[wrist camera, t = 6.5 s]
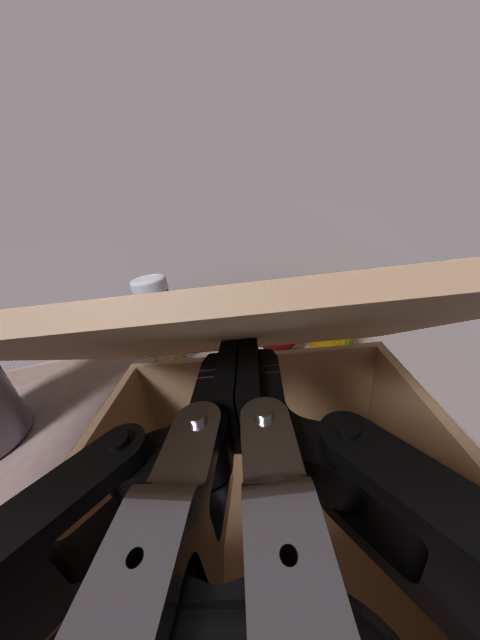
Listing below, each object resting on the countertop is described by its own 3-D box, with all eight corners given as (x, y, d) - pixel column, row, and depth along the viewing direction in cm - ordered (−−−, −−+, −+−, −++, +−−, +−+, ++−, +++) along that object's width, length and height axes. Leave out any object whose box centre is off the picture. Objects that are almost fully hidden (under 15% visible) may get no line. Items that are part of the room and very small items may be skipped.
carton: (549, 787, 10) (734, 729, 5) (52, 766, 11) (-108, 709, 7) (369, 433, 24) (381, 341, 20) (162, 446, 26) (131, 363, 21)
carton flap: (838, 255, 4) (823, 218, 4) (-248, 364, 5) (-243, 336, 6) (379, 336, 19) (377, 328, 20) (132, 358, 21) (131, 351, 21)
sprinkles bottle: (165, 355, 42) (141, 273, 36) (191, 355, 40) (170, 271, 35) (150, 372, 38) (121, 284, 32) (179, 373, 36) (154, 282, 31)
